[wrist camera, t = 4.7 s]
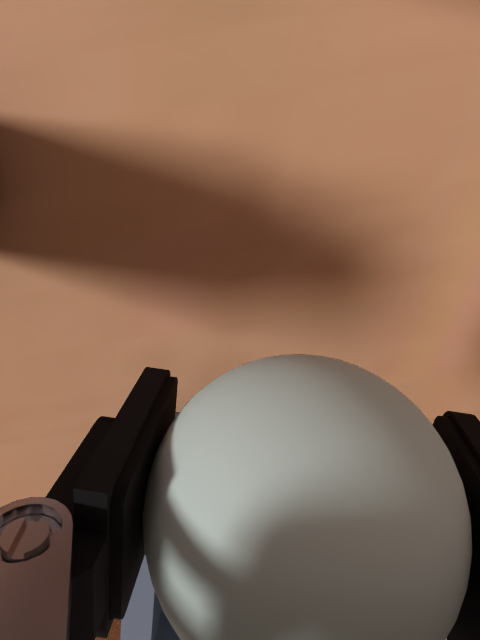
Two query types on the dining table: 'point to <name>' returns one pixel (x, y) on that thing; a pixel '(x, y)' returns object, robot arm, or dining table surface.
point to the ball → (306, 510)
